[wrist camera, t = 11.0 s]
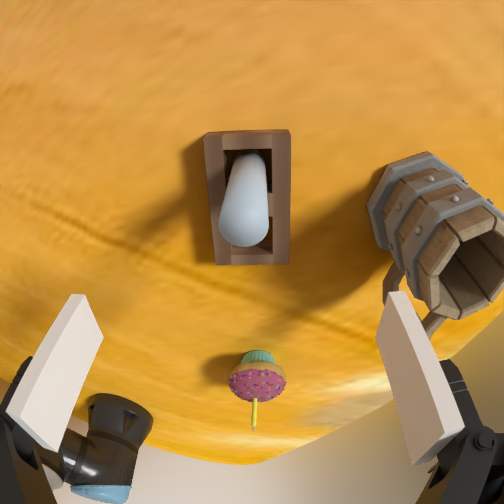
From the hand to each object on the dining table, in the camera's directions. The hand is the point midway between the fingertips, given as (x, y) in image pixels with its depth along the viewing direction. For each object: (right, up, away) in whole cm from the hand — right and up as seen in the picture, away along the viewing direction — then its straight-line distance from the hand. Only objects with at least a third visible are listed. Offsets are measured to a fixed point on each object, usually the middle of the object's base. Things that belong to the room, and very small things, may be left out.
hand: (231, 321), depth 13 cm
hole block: (+1, +9, +21) cm, 23 cm away
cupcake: (+2, -14, +35) cm, 38 cm away
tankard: (+19, +6, +23) cm, 30 cm away
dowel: (+1, +12, +19) cm, 23 cm away
